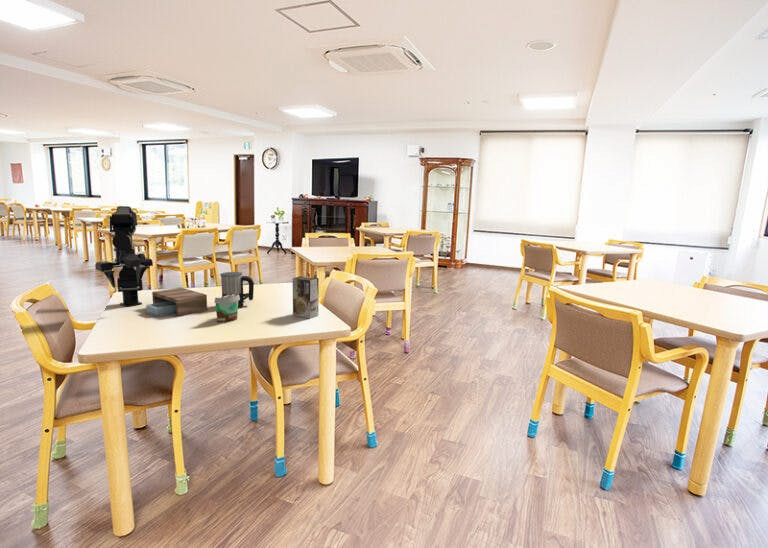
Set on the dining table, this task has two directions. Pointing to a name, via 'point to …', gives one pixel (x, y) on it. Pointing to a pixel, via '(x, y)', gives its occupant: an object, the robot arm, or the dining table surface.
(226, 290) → the milk frother
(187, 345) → the dining table surface
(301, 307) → the coffee box
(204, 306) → the walnut overhang
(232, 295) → the food container
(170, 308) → the blue-gray rectangular tray
